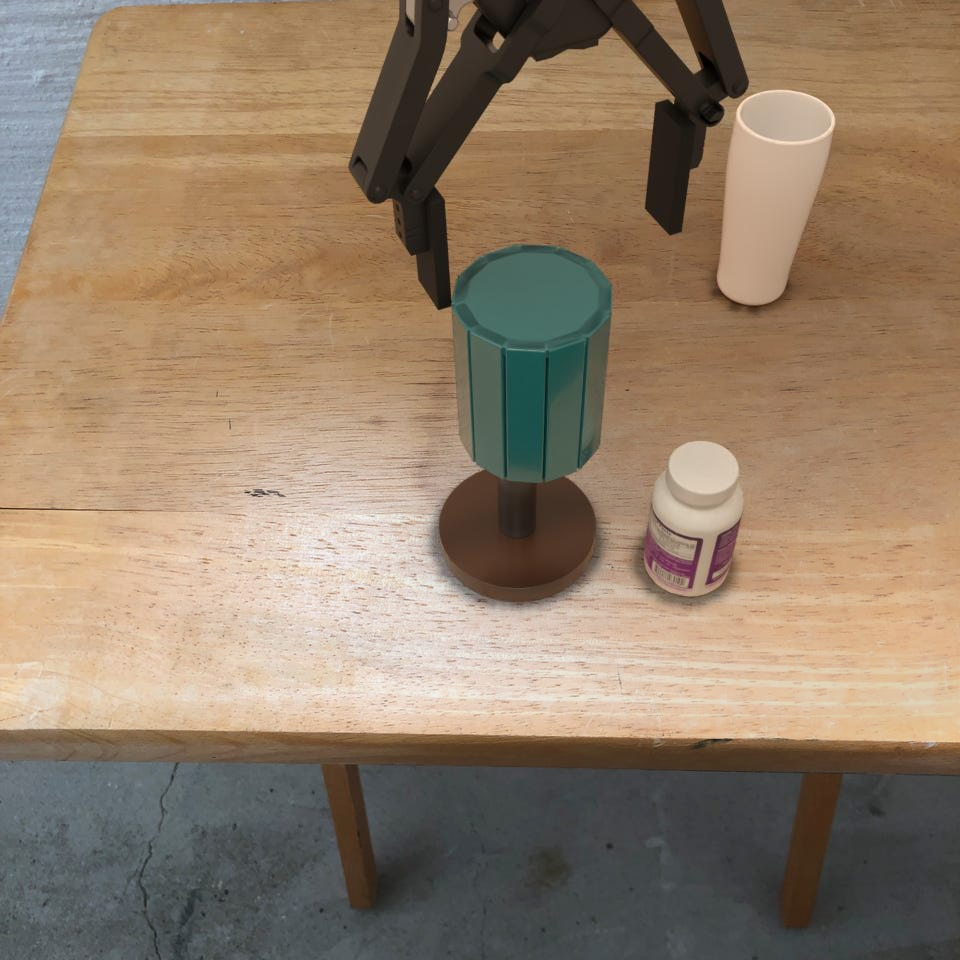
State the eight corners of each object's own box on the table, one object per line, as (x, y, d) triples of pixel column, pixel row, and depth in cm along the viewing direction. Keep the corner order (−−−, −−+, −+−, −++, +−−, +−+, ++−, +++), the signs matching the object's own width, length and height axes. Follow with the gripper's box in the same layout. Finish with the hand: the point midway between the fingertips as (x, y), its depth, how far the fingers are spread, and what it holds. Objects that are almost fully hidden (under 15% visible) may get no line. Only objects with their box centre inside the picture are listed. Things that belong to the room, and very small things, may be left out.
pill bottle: (707, 522, 71) (729, 421, 64) (741, 587, 68) (769, 489, 61) (629, 541, 71) (642, 442, 63) (660, 608, 67) (677, 512, 60)
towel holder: (623, 566, 69) (652, 332, 54) (479, 625, 67) (466, 398, 52) (551, 458, 75) (559, 219, 60) (416, 509, 73) (388, 273, 57)
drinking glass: (794, 262, 88) (836, 91, 76) (794, 319, 83) (838, 148, 72) (708, 254, 89) (736, 84, 77) (704, 310, 84) (733, 140, 73)
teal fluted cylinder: (626, 454, 61) (641, 320, 54) (495, 501, 60) (492, 370, 52) (562, 363, 66) (568, 228, 58) (439, 404, 64) (428, 270, 57)
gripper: (779, -267, 48) (714, 157, 64) (223, -156, 42) (307, 282, 58) (889, -213, 43) (789, 229, 59) (284, -79, 37) (357, 372, 53)
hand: (552, 256), depth 59 cm, fingers open, 13 cm apart
